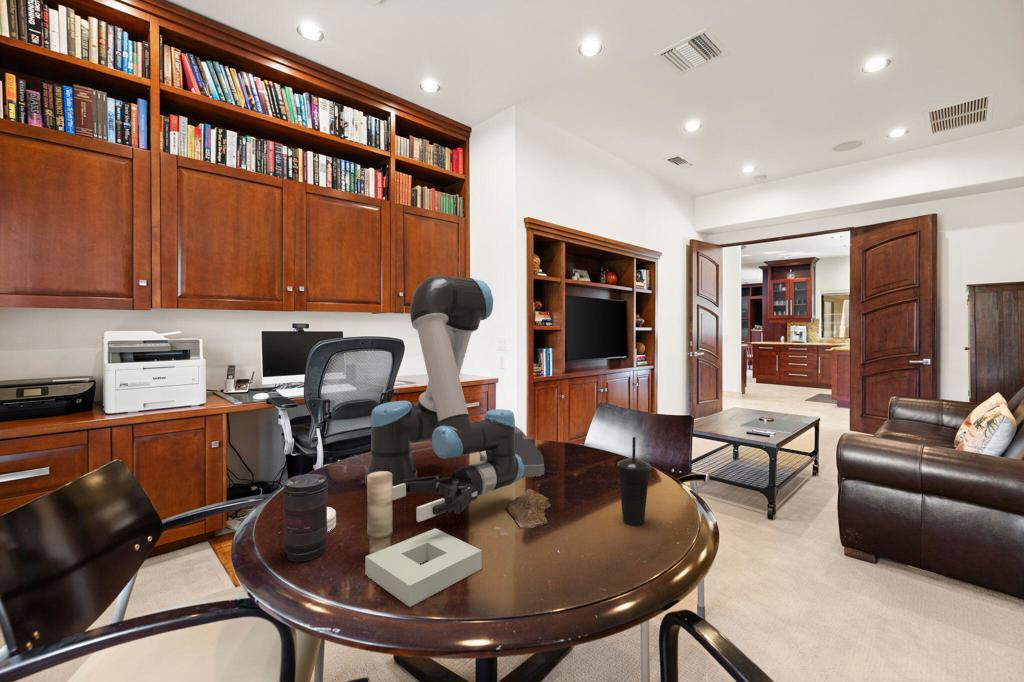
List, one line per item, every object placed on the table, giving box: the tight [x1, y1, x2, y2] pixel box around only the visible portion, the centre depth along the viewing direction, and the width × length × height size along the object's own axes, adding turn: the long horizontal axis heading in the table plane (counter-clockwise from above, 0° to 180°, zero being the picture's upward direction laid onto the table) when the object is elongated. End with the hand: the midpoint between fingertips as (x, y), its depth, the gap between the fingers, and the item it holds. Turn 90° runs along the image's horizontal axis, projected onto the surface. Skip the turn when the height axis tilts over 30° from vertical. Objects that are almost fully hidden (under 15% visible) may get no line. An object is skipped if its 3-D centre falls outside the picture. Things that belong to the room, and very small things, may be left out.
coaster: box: [327, 506, 337, 533], centre depth 101 cm, size 10×10×4 cm
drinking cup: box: [616, 436, 652, 527], centre depth 105 cm, size 8×8×20 cm
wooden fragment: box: [505, 488, 552, 530], centre depth 114 cm, size 26×11×1 cm, turn 171°
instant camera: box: [478, 425, 546, 479], centre depth 146 cm, size 21×21×15 cm
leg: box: [366, 471, 394, 555], centre depth 89 cm, size 5×5×16 cm
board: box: [364, 527, 483, 608], centre depth 82 cm, size 14×16×4 cm
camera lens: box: [282, 473, 329, 562], centre depth 89 cm, size 8×8×15 cm
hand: (397, 505), depth 91 cm, fingers open, 13 cm apart
